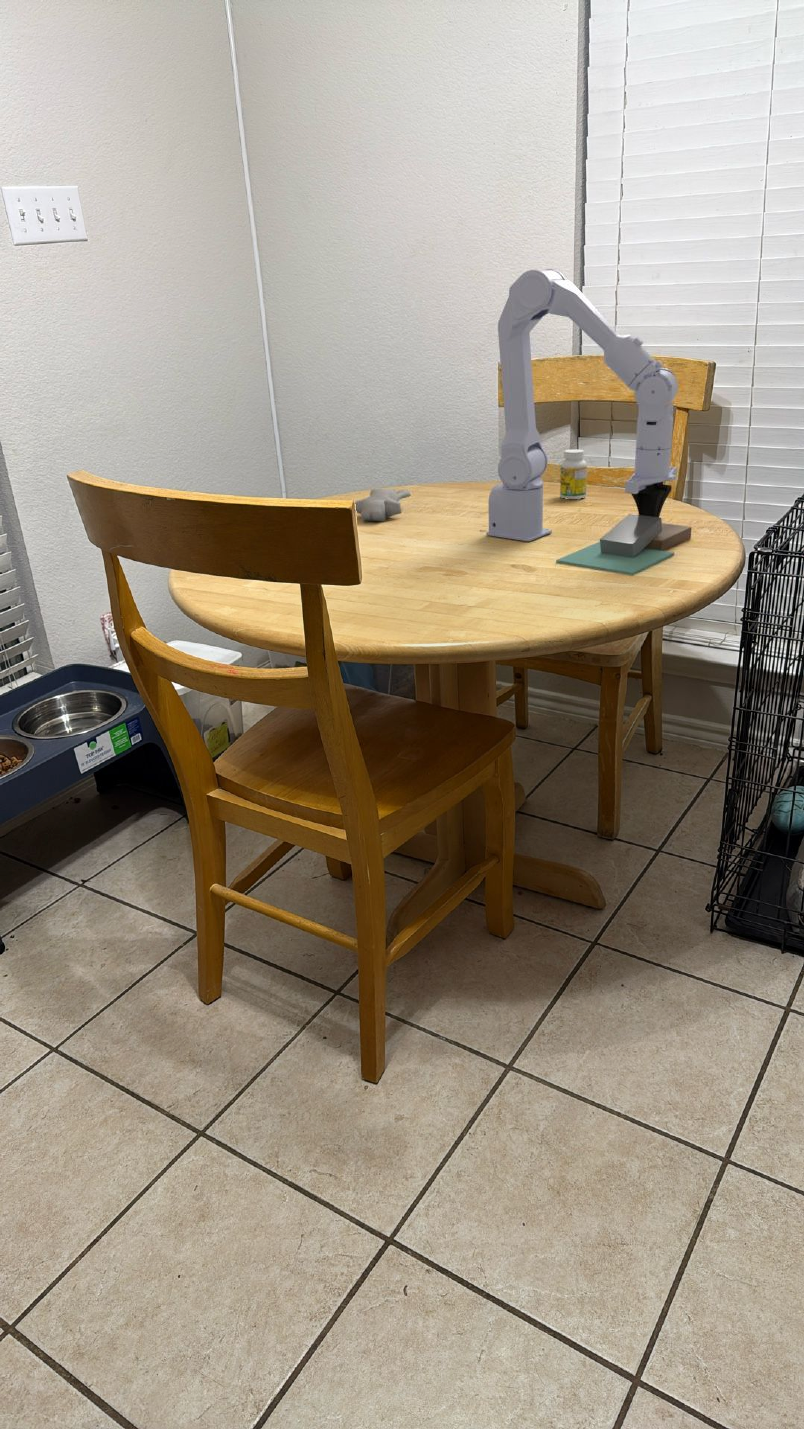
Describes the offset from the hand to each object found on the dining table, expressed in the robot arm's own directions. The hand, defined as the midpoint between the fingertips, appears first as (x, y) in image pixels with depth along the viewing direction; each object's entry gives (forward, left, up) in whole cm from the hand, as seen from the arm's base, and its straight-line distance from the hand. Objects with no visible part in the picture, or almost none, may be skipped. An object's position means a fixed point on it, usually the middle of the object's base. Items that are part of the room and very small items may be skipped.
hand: (648, 528), depth 166 cm
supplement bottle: (-31, +26, -3) cm, 41 cm away
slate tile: (0, -6, -1) cm, 6 cm away
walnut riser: (0, +2, -3) cm, 3 cm away
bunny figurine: (-56, -6, -3) cm, 56 cm away
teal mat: (0, -11, -3) cm, 11 cm away
